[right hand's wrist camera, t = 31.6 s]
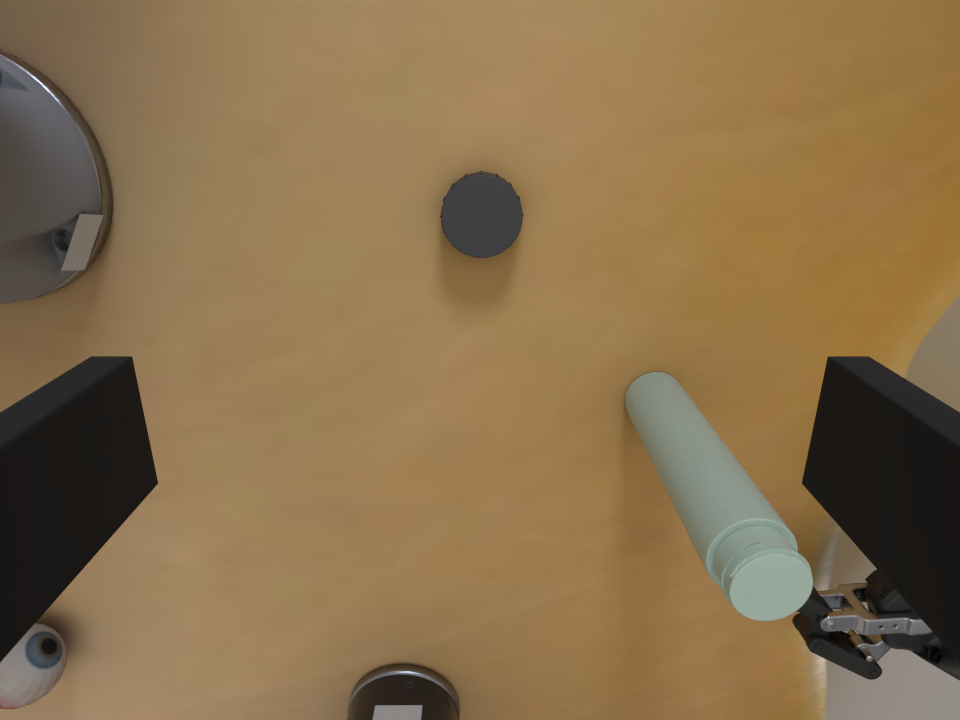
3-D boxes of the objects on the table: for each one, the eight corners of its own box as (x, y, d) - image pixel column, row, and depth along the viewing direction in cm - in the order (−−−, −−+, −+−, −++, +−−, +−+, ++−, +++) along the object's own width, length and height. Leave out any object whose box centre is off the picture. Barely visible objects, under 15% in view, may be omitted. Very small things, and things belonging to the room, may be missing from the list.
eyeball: (101, 641, 53) (55, 703, 47) (48, 674, 54) (-2, 739, 48) (44, 592, 51) (-10, 651, 45) (-9, 628, 52) (-68, 690, 46)
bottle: (694, 384, 45) (841, 568, 26) (664, 433, 46) (785, 639, 28) (642, 362, 44) (756, 534, 26) (614, 412, 45) (703, 608, 27)
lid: (528, 179, 40) (531, 183, 38) (512, 257, 41) (513, 265, 39) (449, 164, 39) (448, 167, 37) (436, 243, 41) (434, 250, 39)
